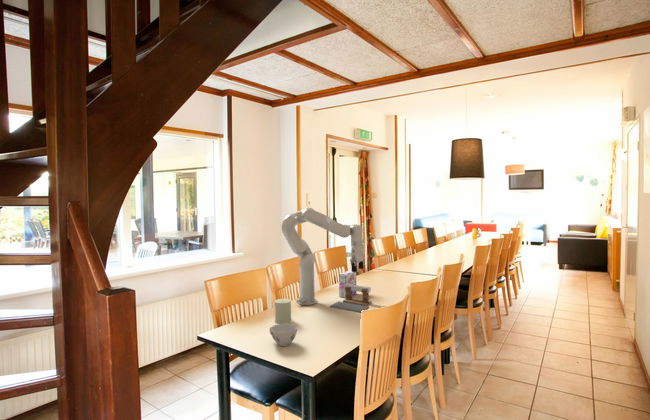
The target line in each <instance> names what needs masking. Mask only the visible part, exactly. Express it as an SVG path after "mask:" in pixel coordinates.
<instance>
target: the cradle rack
mask: <svg viewBox="0 0 650 420" xmlns="http://www.w3.org/2000/svg"><path fill="white" fill-rule="evenodd" d="M345 290H346V298H344V299H343V300H342V302H345V303H350V304H356V305H362V306H368V307H369V305H371V304H373V301H371V300H370V298H369V297H370V296H369V294H370V293H366V290H365V289H361V294H362V297H361V298H362V299H360V298H354V297H353V295H352V290H350V287H345Z"/></svg>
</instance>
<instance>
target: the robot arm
mask: <svg viewBox="0 0 650 420" xmlns="http://www.w3.org/2000/svg"><path fill="white" fill-rule="evenodd" d="M306 222H308V223H310V224H313V225H315V226H318V227H320V228H321V229H323V230H326V231H327V232H330V233H332V234H334V235H336V236H338V237H340V238H348V237H349V236H350V247H351V250H350V259H349V261H350V266H351V271H352V272H356V273H357V263H358V269H360V270H363V269H364V261H365V252H364V246H363V245H364V243H363V242H364V241H363V240H364V239H363V226H362V225H361V224H342V223H339V222H337V221H336V220H333V219H332V218H331V217H330V216H328V215H326V214H324V213H321V212H319V211H317V210H315V209H314V208H312V207H307V208H304V209H302V210H298V211H295V212H292V213H289V214H288V215H286V216H285V217H284V219H283V221H282V222H281V231H282V232H281V233H282V234H283V236H284V238H285V240H286V241H287V243H288V245H289V247H290V249H291V251H292V253H294V254H295V255H296V256H298V258H299V261H298V267H299V269H298V270H299V298H298V299H296V300H295V301H296V303H297V304H299V305H301V306H312V305H316V304H317V303H318V300H317V299H316V298H315V297H316V295H315V263H316V258H315V257H316V256H315V255H314V252H313V251H312V249H311V248H310V246H309V245H308V243H307V241H305V239H303V238H301V237H300V235H299V233H298V231H297V230H296V226H298V225H301V224H303V223H306Z"/></svg>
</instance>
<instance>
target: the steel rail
mask: <svg viewBox="0 0 650 420" xmlns="http://www.w3.org/2000/svg"><path fill="white" fill-rule="evenodd" d="M345 287H350V290H352V291H356V292H359V293H360V292H361V289H365V290H366V293H369V294H370V293H371V291H372V287H371V286H365V285H363V286H362V285H358V284H356V285H351V284H345V285H344V289H345Z"/></svg>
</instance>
